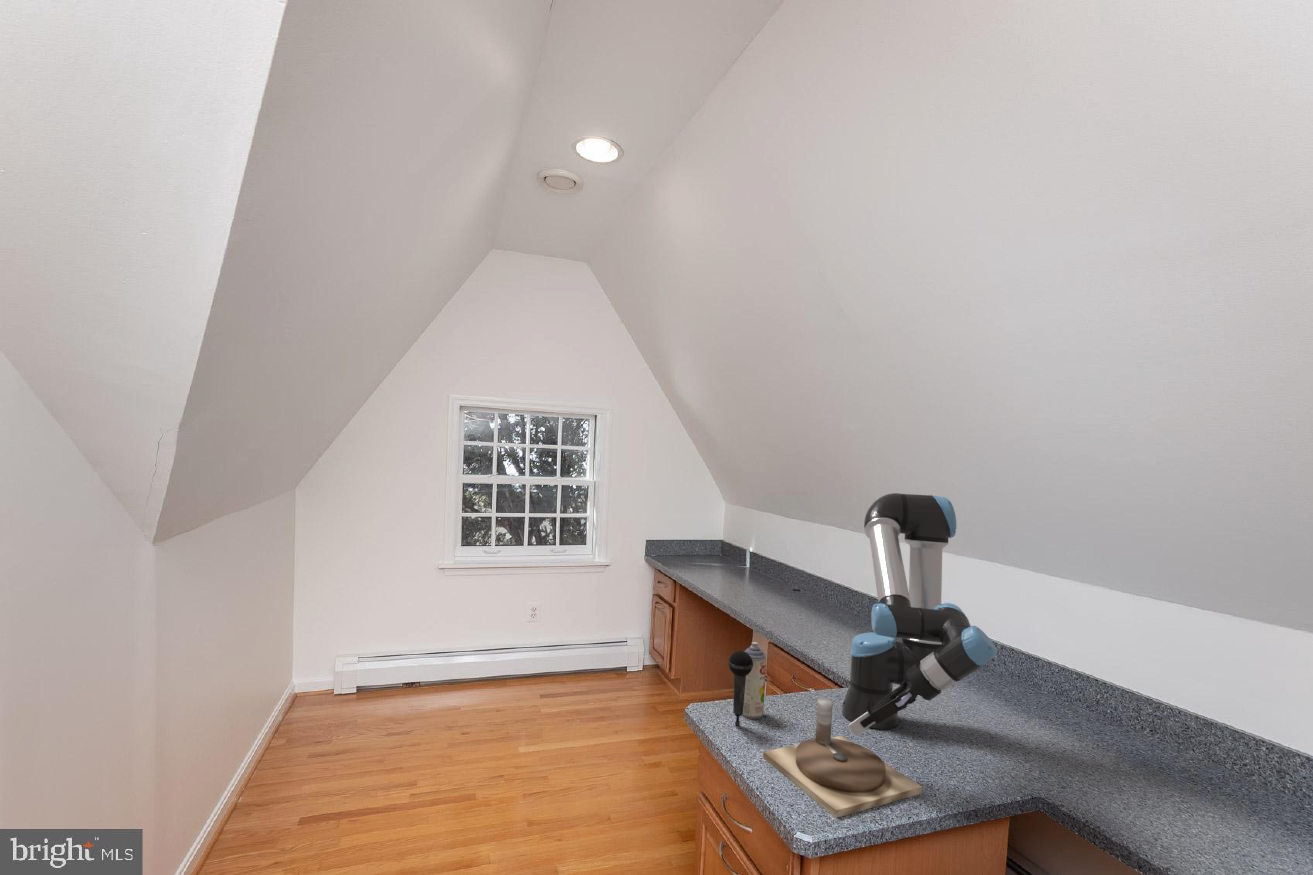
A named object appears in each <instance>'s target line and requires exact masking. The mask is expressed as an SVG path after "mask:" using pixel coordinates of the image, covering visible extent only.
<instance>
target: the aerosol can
mask: <svg viewBox="0 0 1313 875" xmlns="http://www.w3.org/2000/svg"><path fill="white" fill-rule="evenodd" d="M743 651H744V652H746V653H748V654H749V655H750V657H751V658H752V661H753V668H752V670H751V672H750V673H749V674H748V675H746V683H745V694H744V706H743V714H742V715H741V716H740V717H743V718H745V719H750V720H760V719H762V718H763V717H764V712H765V711H764V709H765V707H764V706H765V688H766V672H767V670H766V669H767V656H766V655H767V654H766V653H765V652H763V649H761V647H760V646H759V643H758V642H757V641H753V642H752V641H751V645H750V646H749V647H747V648H746V649H745V650H743Z"/></svg>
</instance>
